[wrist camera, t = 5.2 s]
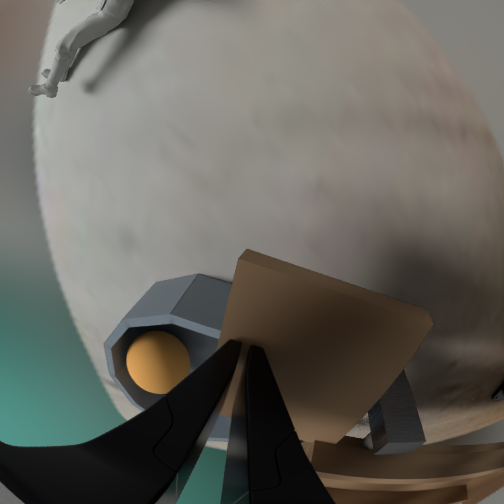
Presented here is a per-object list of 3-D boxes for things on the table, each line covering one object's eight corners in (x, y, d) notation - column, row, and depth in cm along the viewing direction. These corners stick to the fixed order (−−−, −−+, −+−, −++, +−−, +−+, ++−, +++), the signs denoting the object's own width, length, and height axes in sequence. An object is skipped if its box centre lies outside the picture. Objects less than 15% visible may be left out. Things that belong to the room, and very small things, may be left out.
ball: (167, 310, 17) (207, 349, 15) (164, 352, 18) (200, 388, 16) (112, 329, 14) (148, 377, 12) (118, 371, 15) (151, 415, 13)
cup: (318, 308, 15) (323, 357, 11) (266, 413, 19) (259, 453, 15) (136, 253, 15) (97, 285, 12) (137, 371, 20) (116, 405, 16)
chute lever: (579, 361, 5) (598, 392, 2) (456, 482, 10) (459, 512, 7) (248, 246, 8) (199, 302, 5) (198, 446, 14) (177, 485, 11)
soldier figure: (56, 58, 12) (131, -78, 4) (109, 69, 15) (194, -60, 7) (15, 109, 8) (110, -100, 1) (88, 121, 12) (208, -75, 4)
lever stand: (412, 316, 14) (464, 425, 6) (328, 429, 19) (328, 512, 12) (342, 297, 14) (368, 428, 7) (274, 421, 19) (261, 508, 12)
